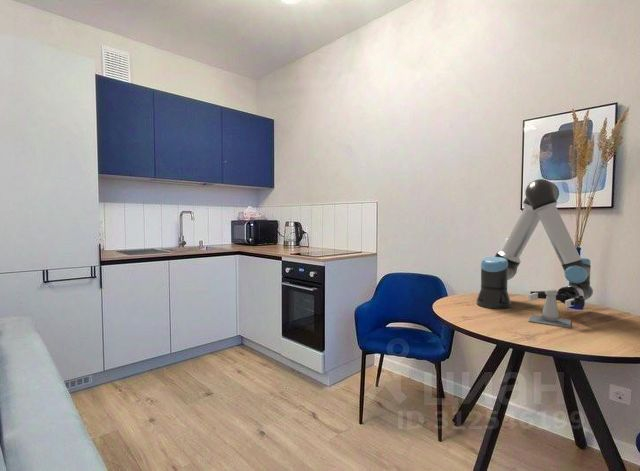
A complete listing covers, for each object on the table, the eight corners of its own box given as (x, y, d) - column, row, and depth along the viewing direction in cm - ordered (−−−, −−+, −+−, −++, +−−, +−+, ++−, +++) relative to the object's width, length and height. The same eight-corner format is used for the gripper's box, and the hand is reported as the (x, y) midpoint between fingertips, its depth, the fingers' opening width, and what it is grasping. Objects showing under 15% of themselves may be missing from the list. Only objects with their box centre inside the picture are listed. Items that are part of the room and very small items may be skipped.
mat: (528, 321, 142) (528, 320, 142) (531, 315, 151) (531, 314, 151) (570, 328, 133) (570, 326, 133) (570, 321, 143) (570, 319, 143)
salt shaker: (542, 321, 141) (543, 289, 141) (541, 317, 146) (542, 287, 146) (559, 323, 138) (560, 291, 138) (558, 319, 143) (559, 288, 143)
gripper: (604, 309, 142) (583, 317, 130) (539, 297, 163) (515, 303, 151) (605, 291, 141) (583, 297, 130) (539, 282, 162) (516, 286, 151)
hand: (547, 300), depth 140 cm, fingers open, 13 cm apart
